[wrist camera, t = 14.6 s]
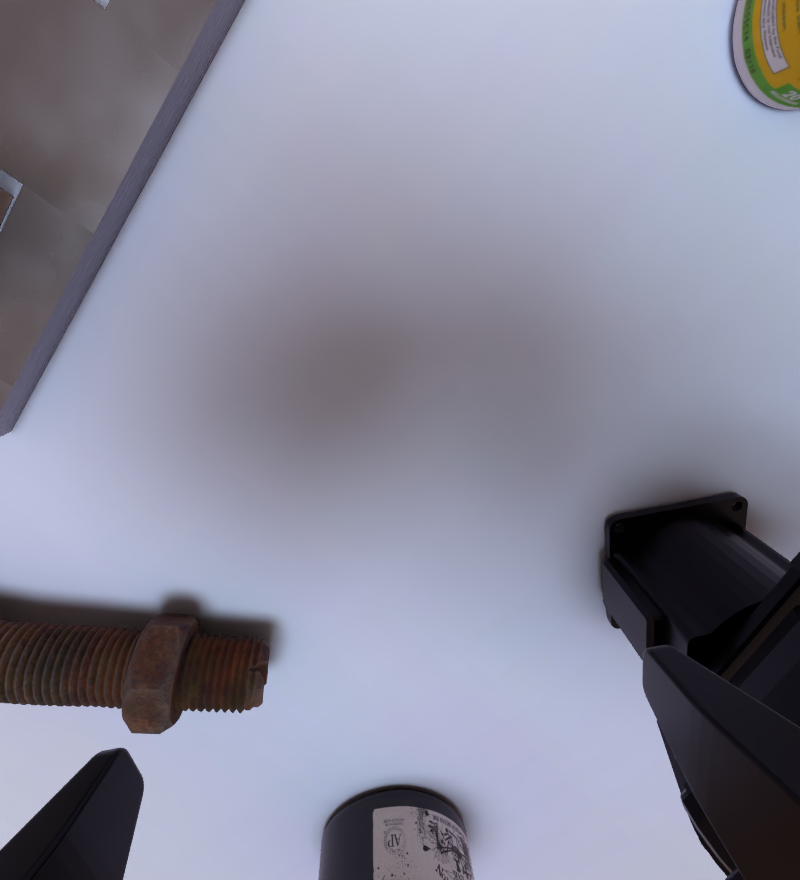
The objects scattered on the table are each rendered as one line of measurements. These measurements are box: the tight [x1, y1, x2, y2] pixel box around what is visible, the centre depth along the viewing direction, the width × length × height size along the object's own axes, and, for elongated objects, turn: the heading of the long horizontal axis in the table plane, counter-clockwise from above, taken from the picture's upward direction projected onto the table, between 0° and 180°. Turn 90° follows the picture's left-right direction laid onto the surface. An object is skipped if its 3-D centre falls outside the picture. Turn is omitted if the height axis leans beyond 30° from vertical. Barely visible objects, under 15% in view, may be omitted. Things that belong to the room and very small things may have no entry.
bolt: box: [0, 614, 269, 734], centre depth 21 cm, size 6×5×15 cm
